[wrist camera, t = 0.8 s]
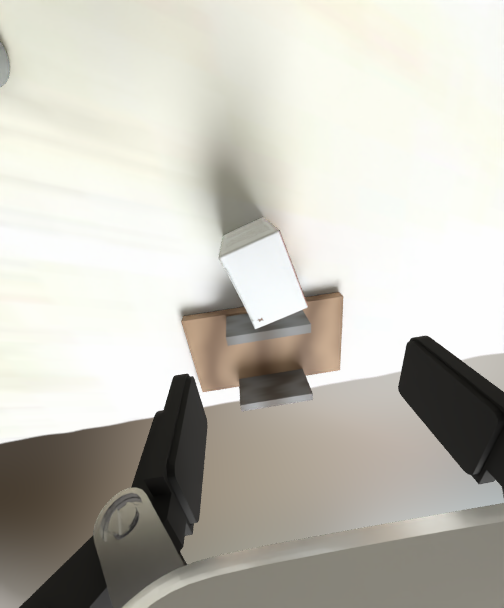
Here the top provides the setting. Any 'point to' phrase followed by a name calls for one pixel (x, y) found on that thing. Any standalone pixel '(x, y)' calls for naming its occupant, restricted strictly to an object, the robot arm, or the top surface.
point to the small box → (262, 272)
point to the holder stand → (266, 351)
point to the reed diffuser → (4, 66)
